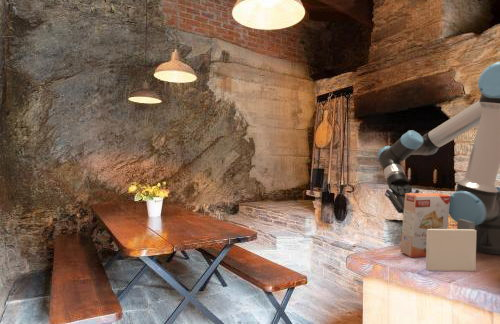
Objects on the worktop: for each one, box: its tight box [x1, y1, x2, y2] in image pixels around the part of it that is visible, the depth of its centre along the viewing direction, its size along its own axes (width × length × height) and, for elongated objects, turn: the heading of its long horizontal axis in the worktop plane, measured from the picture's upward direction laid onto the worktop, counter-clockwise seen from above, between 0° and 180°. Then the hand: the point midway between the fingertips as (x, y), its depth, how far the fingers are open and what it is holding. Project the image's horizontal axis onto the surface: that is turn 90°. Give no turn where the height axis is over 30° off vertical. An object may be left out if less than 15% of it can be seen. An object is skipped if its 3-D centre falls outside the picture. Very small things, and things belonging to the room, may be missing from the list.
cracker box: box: [400, 192, 451, 258], centre depth 116 cm, size 14×6×21 cm, turn 105°
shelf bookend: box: [425, 219, 477, 272], centre depth 104 cm, size 14×8×14 cm, turn 91°
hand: (415, 228), depth 120 cm, fingers closed
